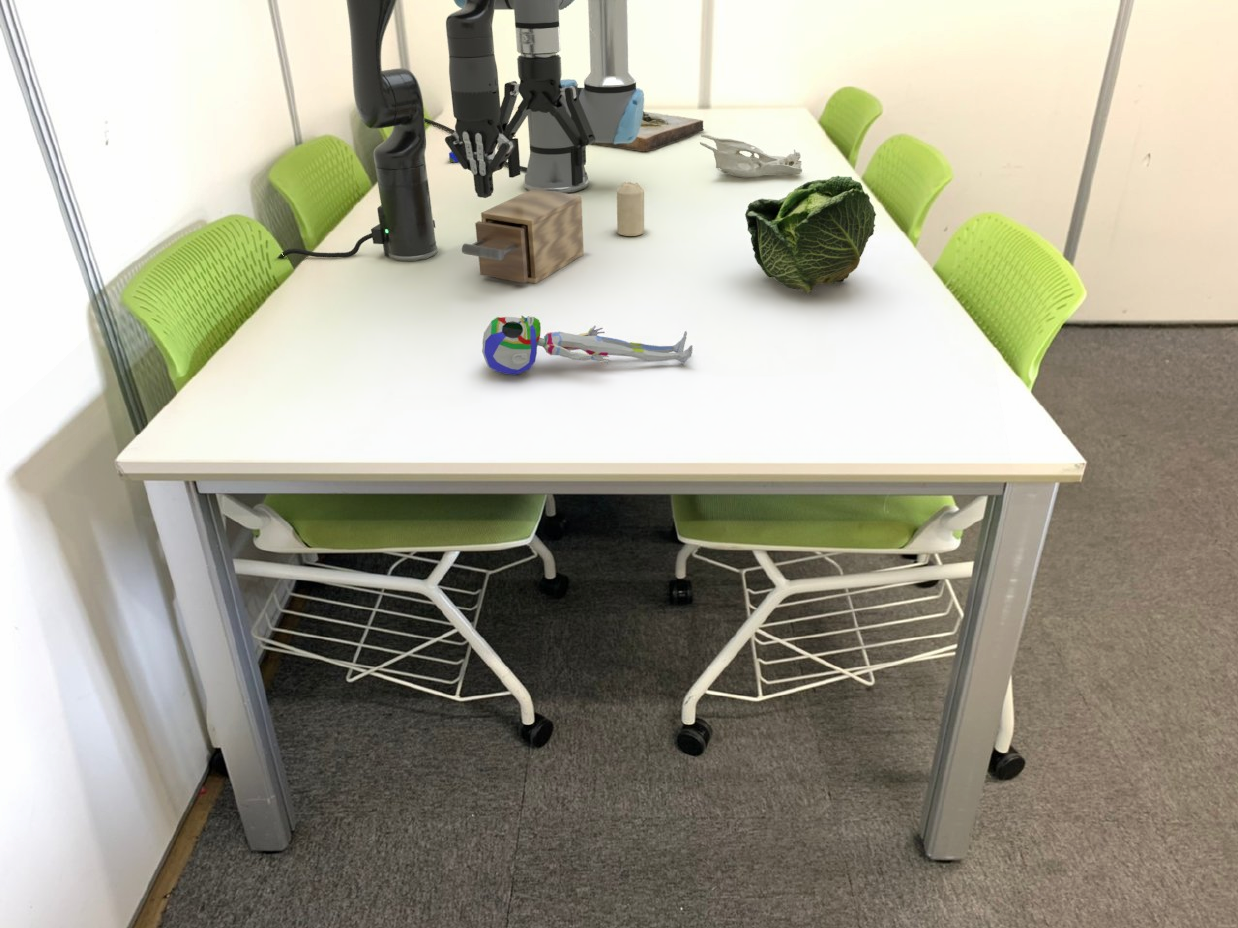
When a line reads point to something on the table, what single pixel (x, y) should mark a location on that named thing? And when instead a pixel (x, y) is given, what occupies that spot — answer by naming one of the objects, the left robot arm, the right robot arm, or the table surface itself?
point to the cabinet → (545, 228)
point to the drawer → (501, 250)
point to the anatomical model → (751, 160)
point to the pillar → (452, 157)
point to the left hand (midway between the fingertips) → (485, 196)
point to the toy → (561, 345)
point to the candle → (630, 209)
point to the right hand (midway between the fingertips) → (545, 180)
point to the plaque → (660, 131)
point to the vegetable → (812, 232)
